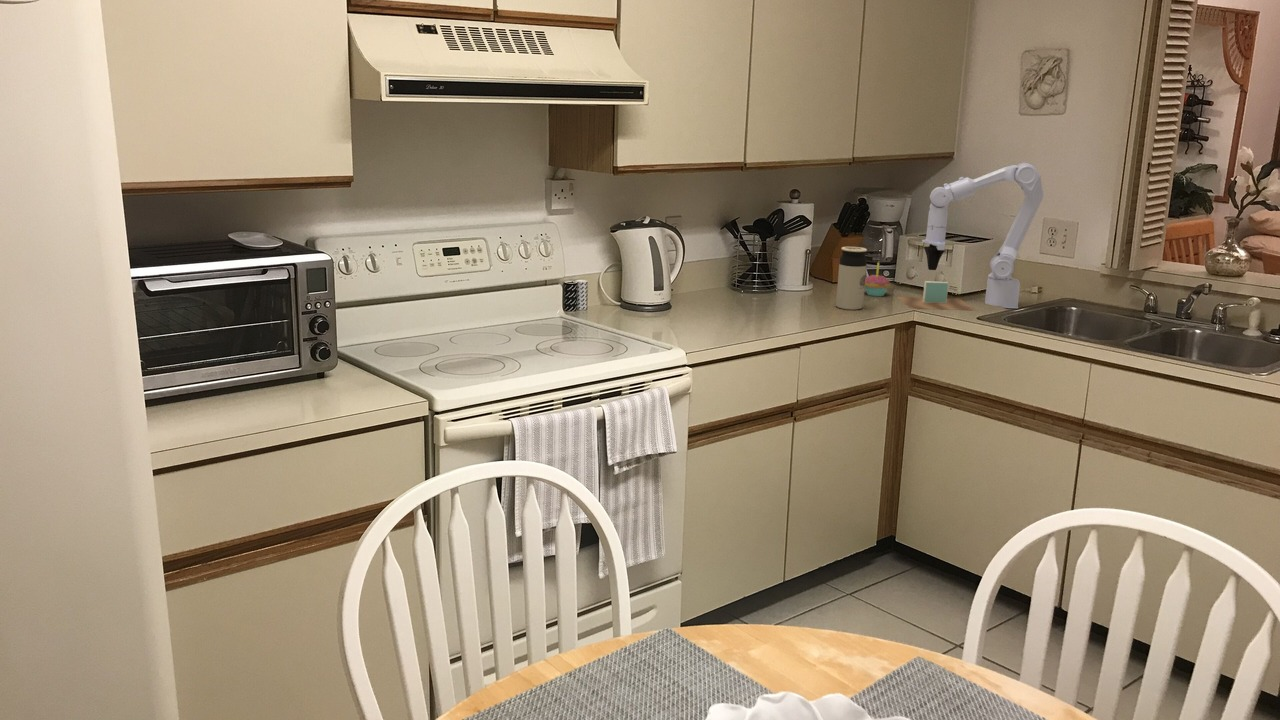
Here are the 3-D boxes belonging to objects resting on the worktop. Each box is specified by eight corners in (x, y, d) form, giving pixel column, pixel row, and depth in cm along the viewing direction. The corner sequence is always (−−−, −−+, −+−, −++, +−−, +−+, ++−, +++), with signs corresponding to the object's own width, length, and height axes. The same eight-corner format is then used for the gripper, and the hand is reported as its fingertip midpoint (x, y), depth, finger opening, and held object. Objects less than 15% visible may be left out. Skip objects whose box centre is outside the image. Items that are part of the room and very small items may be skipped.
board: (958, 301, 322) (958, 298, 322) (977, 313, 305) (977, 310, 304) (895, 299, 322) (896, 296, 321) (910, 311, 304) (911, 308, 304)
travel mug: (830, 306, 307) (835, 247, 303) (846, 303, 312) (851, 245, 308) (851, 311, 301) (856, 251, 297) (867, 308, 307) (873, 249, 302)
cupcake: (889, 300, 320) (893, 262, 317) (862, 298, 321) (865, 261, 318) (887, 295, 328) (891, 258, 325) (860, 293, 329) (864, 256, 326)
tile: (944, 302, 315) (947, 281, 313) (946, 303, 314) (948, 282, 312) (922, 301, 315) (924, 281, 313) (923, 302, 313) (926, 282, 312)
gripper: (917, 222, 322) (913, 265, 325) (930, 229, 308) (925, 273, 311) (939, 223, 322) (935, 266, 325) (953, 229, 308) (948, 274, 311)
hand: (932, 269), depth 318 cm, fingers closed
